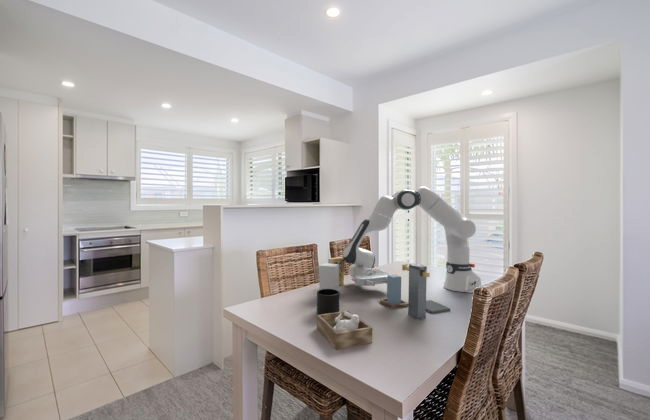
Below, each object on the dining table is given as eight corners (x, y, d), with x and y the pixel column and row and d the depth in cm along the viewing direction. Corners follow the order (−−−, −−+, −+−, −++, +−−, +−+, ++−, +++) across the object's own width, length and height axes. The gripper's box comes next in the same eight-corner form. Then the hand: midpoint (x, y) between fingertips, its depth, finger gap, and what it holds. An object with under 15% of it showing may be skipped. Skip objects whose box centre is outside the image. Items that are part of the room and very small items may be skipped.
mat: (430, 302, 143) (430, 299, 143) (450, 310, 132) (450, 308, 132) (413, 304, 139) (413, 302, 139) (432, 313, 128) (432, 311, 128)
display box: (348, 323, 117) (349, 310, 117) (372, 342, 101) (372, 327, 101) (317, 328, 112) (317, 315, 112) (336, 349, 96) (336, 333, 96)
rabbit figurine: (365, 334, 108) (365, 307, 108) (365, 344, 101) (366, 315, 101) (331, 332, 110) (331, 305, 109) (329, 342, 102) (330, 313, 102)
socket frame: (396, 299, 146) (396, 297, 146) (409, 306, 137) (409, 303, 137) (379, 301, 142) (379, 299, 142) (391, 308, 133) (391, 306, 133)
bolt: (406, 269, 133) (406, 264, 133) (430, 277, 119) (430, 271, 119) (402, 270, 132) (402, 264, 132) (425, 278, 118) (425, 272, 118)
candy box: (339, 283, 174) (339, 256, 174) (344, 284, 171) (344, 257, 171) (327, 285, 169) (327, 258, 168) (332, 287, 166) (332, 259, 165)
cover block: (394, 301, 142) (395, 274, 142) (400, 305, 138) (401, 276, 138) (386, 303, 141) (387, 275, 140) (392, 306, 137) (393, 277, 136)
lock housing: (415, 313, 128) (416, 263, 128) (425, 318, 123) (426, 266, 122) (408, 314, 127) (409, 264, 126) (417, 319, 121) (418, 267, 121)
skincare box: (339, 295, 152) (339, 264, 152) (333, 298, 146) (333, 266, 146) (324, 292, 156) (324, 262, 155) (318, 296, 150) (318, 264, 150)
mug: (343, 309, 132) (343, 288, 132) (335, 319, 121) (335, 296, 121) (323, 306, 135) (323, 286, 135) (313, 315, 124) (313, 294, 124)
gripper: (350, 272, 157) (363, 278, 145) (383, 269, 165) (398, 275, 152) (349, 284, 158) (363, 291, 145) (383, 280, 165) (398, 287, 153)
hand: (381, 283), depth 149 cm, fingers open, 8 cm apart
